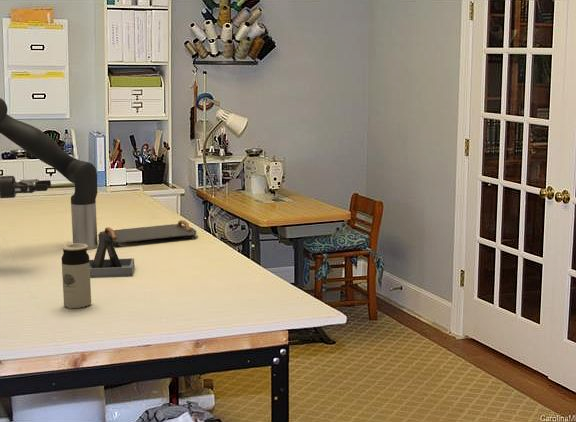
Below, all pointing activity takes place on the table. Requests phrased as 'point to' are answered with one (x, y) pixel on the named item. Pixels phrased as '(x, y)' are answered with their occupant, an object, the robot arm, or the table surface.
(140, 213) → the table surface
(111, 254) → the phone stand
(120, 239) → the serving board
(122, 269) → the tray
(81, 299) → the travel mug
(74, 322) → the table surface
